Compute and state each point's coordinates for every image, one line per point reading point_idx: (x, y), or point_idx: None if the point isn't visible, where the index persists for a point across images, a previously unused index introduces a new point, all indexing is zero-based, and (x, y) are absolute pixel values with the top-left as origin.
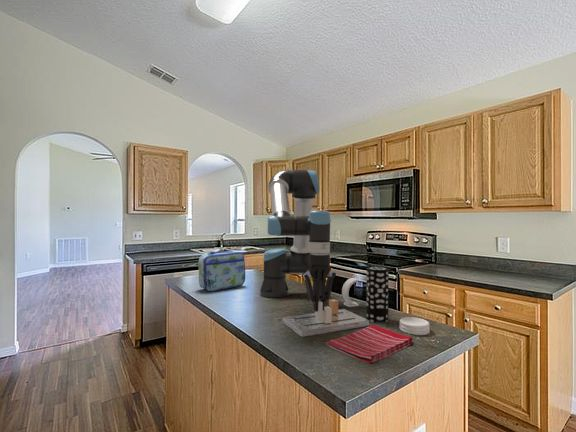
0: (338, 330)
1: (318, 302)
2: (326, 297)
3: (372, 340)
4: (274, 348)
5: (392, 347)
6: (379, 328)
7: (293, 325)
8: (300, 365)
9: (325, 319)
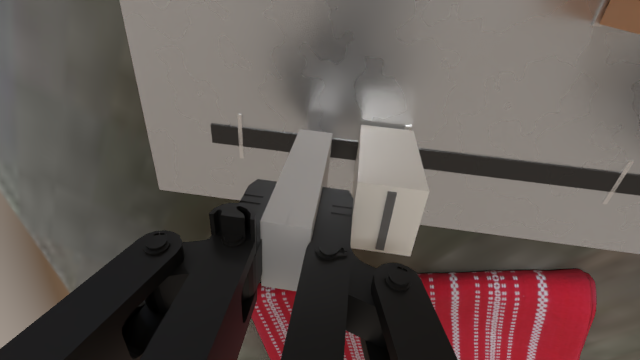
0: None
1: (262, 276)
2: (361, 337)
3: None
4: (29, 211)
5: None
6: (567, 339)
7: (138, 76)
8: None
9: (352, 191)
